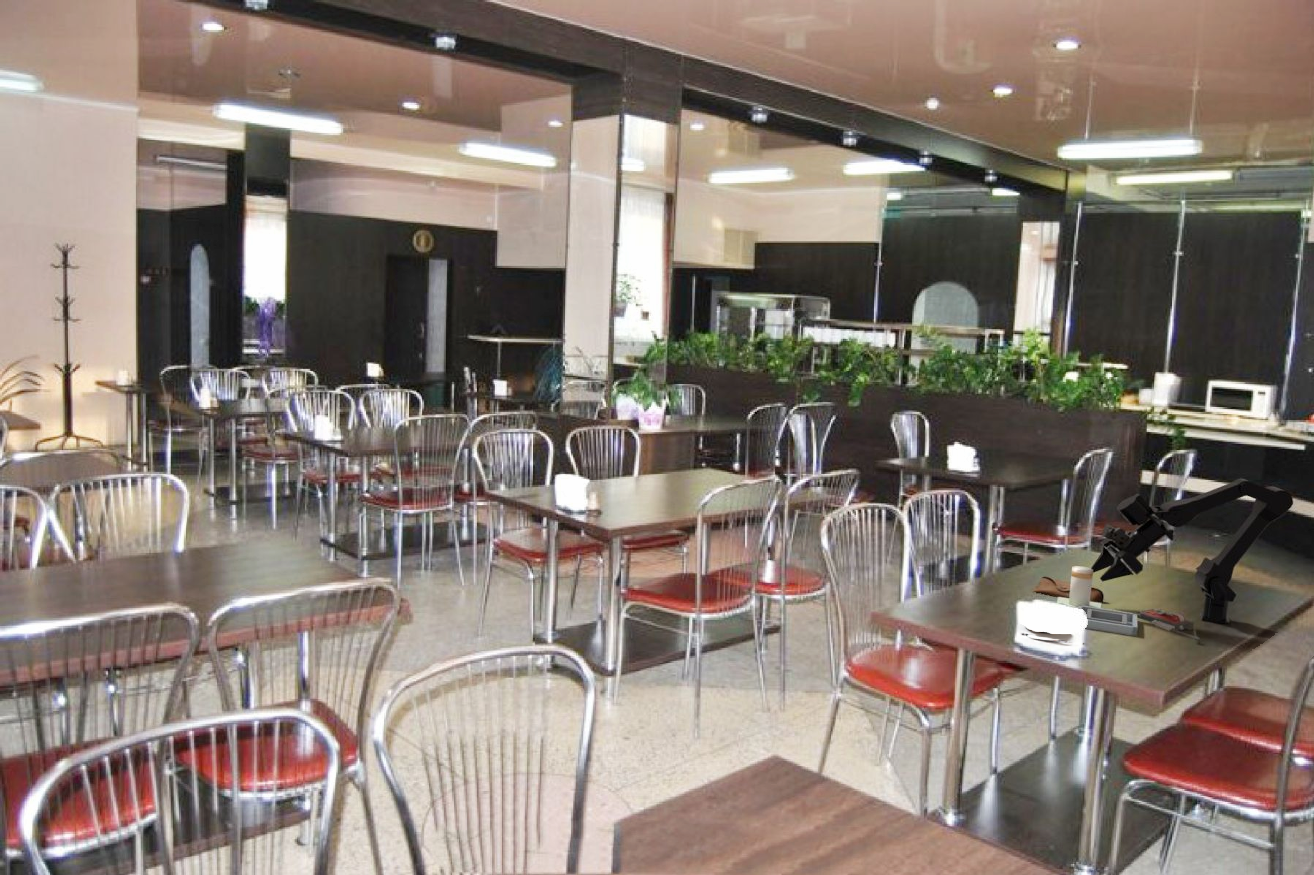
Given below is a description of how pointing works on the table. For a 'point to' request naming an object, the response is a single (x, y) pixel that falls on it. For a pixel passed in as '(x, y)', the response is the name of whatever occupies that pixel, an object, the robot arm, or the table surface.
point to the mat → (1066, 602)
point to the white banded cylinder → (1080, 586)
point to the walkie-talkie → (1168, 621)
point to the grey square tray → (1111, 620)
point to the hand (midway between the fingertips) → (1096, 575)
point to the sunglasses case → (1063, 589)
